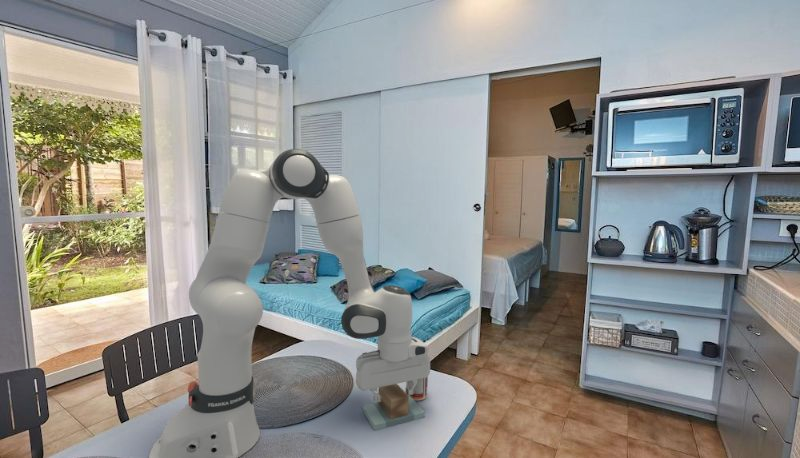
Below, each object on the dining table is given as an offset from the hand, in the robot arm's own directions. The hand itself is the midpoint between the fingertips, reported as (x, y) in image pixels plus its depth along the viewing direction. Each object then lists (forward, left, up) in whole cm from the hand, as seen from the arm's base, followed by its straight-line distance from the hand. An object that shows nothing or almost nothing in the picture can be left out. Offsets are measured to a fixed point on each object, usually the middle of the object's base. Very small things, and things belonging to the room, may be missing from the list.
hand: (393, 397), depth 98 cm
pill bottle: (+10, +5, -5) cm, 12 cm away
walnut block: (0, 0, -3) cm, 3 cm away
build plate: (0, 0, -4) cm, 4 cm away
